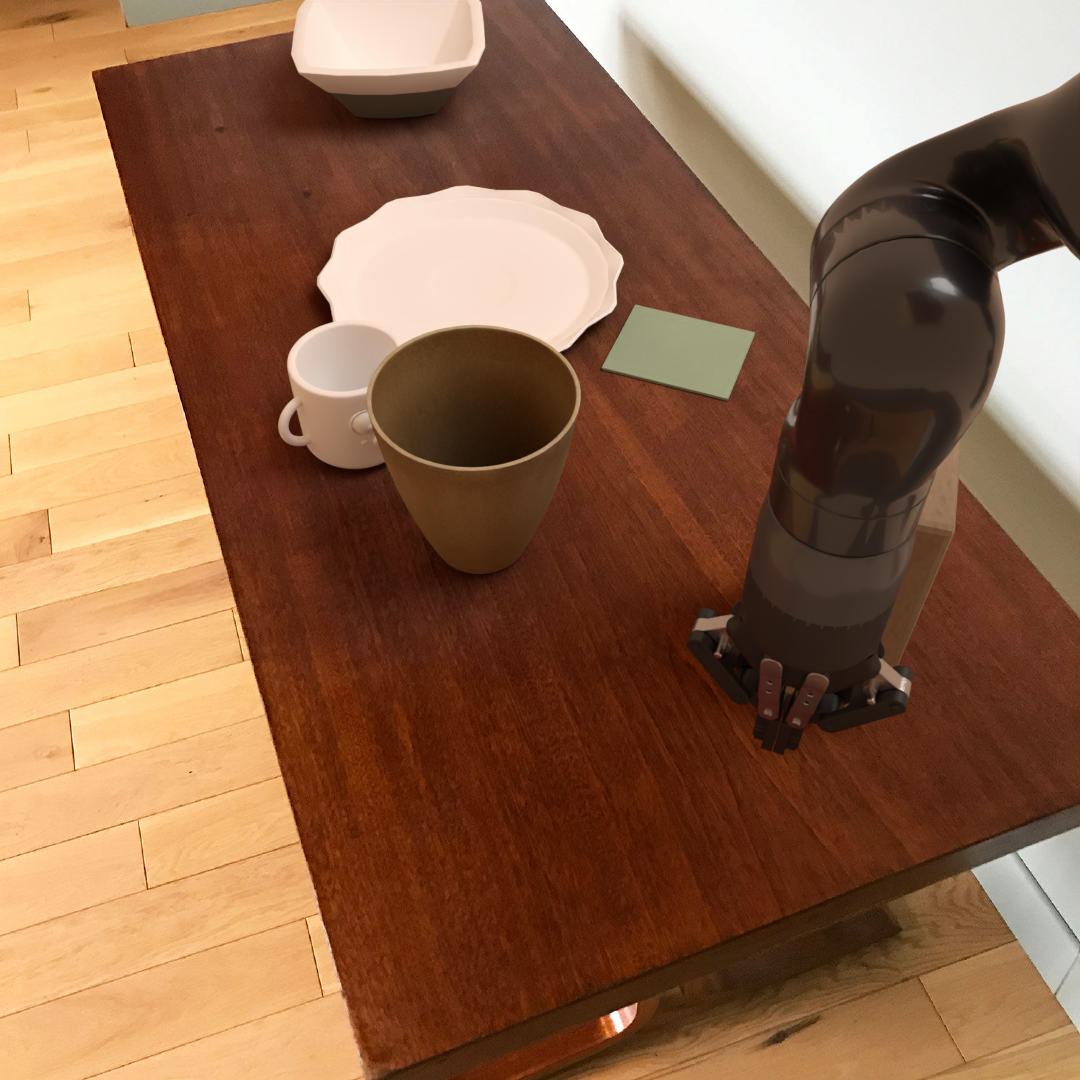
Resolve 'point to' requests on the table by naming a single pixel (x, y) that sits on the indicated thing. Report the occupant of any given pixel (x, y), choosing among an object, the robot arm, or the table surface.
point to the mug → (336, 391)
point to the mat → (679, 352)
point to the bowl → (388, 52)
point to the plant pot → (475, 437)
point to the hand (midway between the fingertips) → (775, 739)
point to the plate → (474, 266)
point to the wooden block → (923, 558)
